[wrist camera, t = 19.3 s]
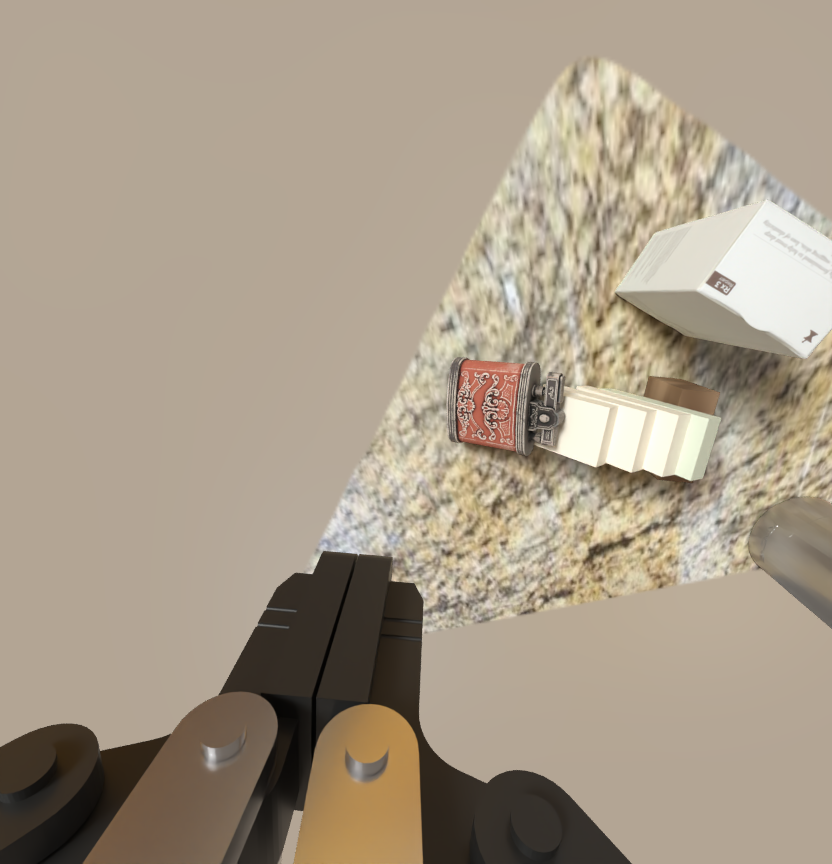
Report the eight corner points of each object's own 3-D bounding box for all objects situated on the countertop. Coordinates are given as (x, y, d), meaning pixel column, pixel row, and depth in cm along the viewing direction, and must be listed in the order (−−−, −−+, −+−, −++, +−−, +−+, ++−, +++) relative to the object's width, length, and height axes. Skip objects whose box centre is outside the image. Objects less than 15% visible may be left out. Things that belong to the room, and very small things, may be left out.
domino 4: (589, 439, 42) (690, 480, 34) (600, 388, 41) (709, 418, 32) (600, 438, 43) (702, 478, 35) (611, 388, 41) (721, 417, 33)
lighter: (462, 437, 44) (563, 455, 38) (445, 445, 41) (551, 466, 36) (465, 355, 42) (573, 362, 36) (447, 358, 39) (560, 366, 34)
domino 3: (589, 385, 42) (691, 414, 33) (578, 435, 43) (674, 474, 35) (577, 386, 41) (678, 415, 33) (566, 436, 43) (661, 477, 34)
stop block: (681, 379, 41) (720, 392, 35) (659, 458, 44) (692, 483, 38) (648, 376, 41) (682, 389, 36) (629, 455, 44) (657, 479, 38)
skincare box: (727, 279, 38) (895, 270, 24) (682, 340, 40) (813, 365, 26) (649, 229, 38) (776, 189, 23) (606, 293, 39) (700, 292, 25)
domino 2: (554, 383, 42) (657, 410, 34) (545, 433, 43) (642, 469, 36) (543, 384, 41) (646, 412, 33) (534, 434, 43) (631, 472, 35)
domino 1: (517, 380, 42) (619, 406, 35) (508, 429, 44) (605, 463, 37) (506, 381, 41) (609, 407, 34) (498, 432, 42) (595, 467, 36)
